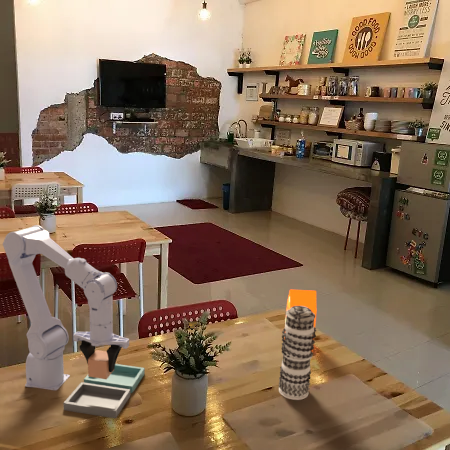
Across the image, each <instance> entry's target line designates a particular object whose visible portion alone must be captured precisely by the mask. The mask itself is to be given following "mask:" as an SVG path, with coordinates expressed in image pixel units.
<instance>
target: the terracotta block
mask: <svg viewBox="0 0 450 450" xmlns="http://www.w3.org/2000/svg"><path fill="white" fill-rule="evenodd" d="M87 371H88V372H87V375H88V377H94V378H101V379H107V378H108V377H109V376H110V374H111V373H112V372H113V371H114V370H113V371H112V372H109V360H108V354H107V350H101V349H99V350H98V349H95V352H94V353H93V354H92V355H91V356H90V358H89V359H88V364H87Z"/></svg>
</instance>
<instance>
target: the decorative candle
mask: <svg viewBox="0 0 450 450" xmlns="http://www.w3.org/2000/svg"><path fill="white" fill-rule="evenodd" d="M286 310H287V309H286ZM286 310H285V320H286V322H284V328H283V330H282V331H281V334H282V335H281V341H282V342H281V345H282V346H281V354H282V361H281V366H280V367H279V369H280V372H279V379H278V380H279V382H278V392H279V394H280V395H281V396H282V397H284V398H285V399H288V400H294V401H301V400H303V399H306V398H308V396H309V391H310V385H311V383H310V380H311V374H312V372H311V359H312V358H313V355H314V353H313V352H312V350H313V351H314V349H315V347H314V344H315V343H316V342H315V338H316V337H317V335H316V333H317V328H316V326H315V327H314V318H315V317H316V318H317V315H316V316H315V314H314V313H313V312H312V311H311V309H309V308H308V307H305V306H293V307H291V308H290V309H289V310H287V311H286ZM286 315H287V317H286ZM285 332H286V333H285ZM284 337H285V339H284Z"/></svg>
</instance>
